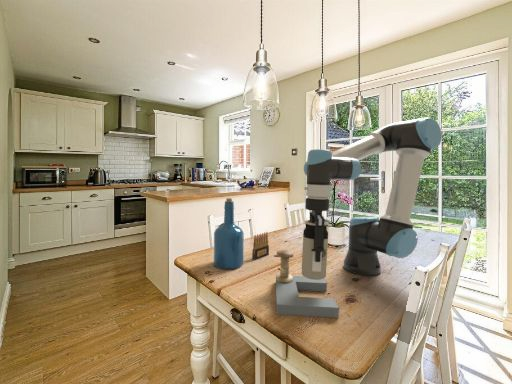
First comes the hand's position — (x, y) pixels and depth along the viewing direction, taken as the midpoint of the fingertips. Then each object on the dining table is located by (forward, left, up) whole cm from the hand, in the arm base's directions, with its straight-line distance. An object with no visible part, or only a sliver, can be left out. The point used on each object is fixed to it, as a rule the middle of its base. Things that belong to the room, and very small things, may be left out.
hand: (314, 265), depth 85 cm
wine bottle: (+33, -27, -11) cm, 44 cm away
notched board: (+3, 0, -11) cm, 12 cm away
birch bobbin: (+9, -7, -8) cm, 14 cm away
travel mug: (0, 0, -3) cm, 3 cm away
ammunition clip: (+19, -39, -11) cm, 45 cm away
